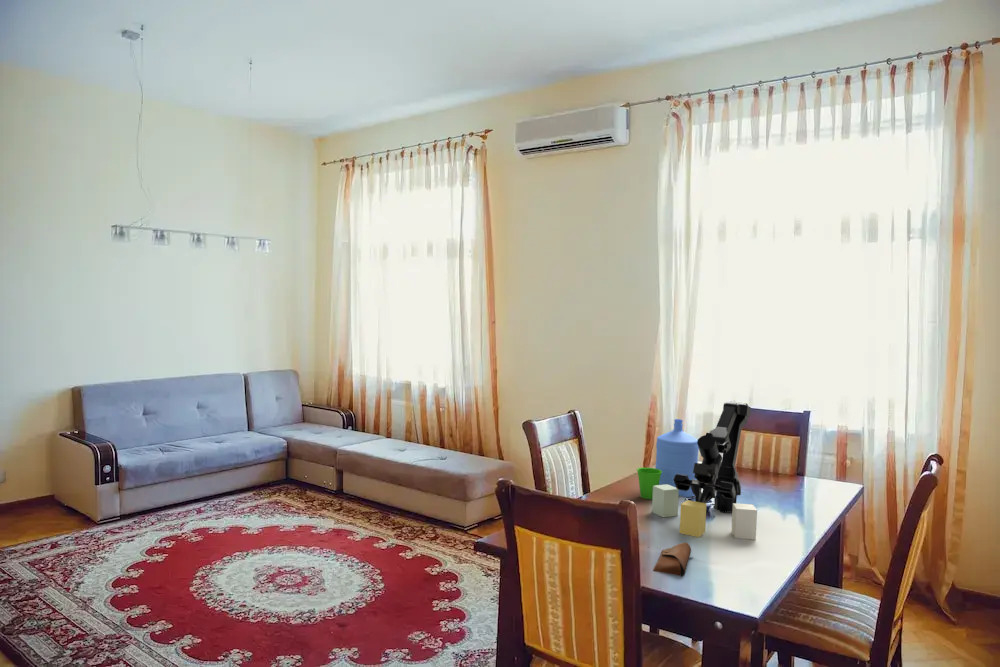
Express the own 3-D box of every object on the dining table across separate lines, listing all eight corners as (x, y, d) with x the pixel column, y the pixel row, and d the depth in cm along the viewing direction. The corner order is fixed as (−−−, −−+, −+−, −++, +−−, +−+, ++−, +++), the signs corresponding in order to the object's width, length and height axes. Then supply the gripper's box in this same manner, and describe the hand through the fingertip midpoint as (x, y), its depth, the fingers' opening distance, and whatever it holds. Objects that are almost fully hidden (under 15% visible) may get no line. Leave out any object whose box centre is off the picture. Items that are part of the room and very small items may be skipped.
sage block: (666, 510, 234) (667, 484, 234) (677, 515, 229) (678, 488, 228) (651, 512, 232) (653, 485, 231) (663, 517, 226) (664, 490, 226)
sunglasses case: (660, 549, 199) (673, 531, 198) (681, 564, 197) (694, 547, 196) (651, 571, 182) (666, 552, 181) (674, 588, 180) (689, 569, 179)
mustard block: (686, 528, 216) (687, 499, 215) (705, 532, 212) (706, 503, 212) (679, 533, 211) (680, 504, 210) (698, 537, 207) (700, 507, 207)
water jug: (689, 501, 251) (693, 425, 250) (648, 493, 259) (651, 420, 258) (701, 492, 264) (705, 419, 263) (662, 485, 273) (665, 415, 271)
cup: (661, 504, 245) (662, 474, 245) (635, 502, 247) (636, 472, 246) (660, 498, 254) (661, 468, 253) (635, 495, 256) (636, 466, 255)
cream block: (731, 531, 214) (732, 503, 213) (751, 533, 213) (752, 504, 212) (735, 538, 208) (736, 508, 207) (755, 539, 207) (757, 510, 207)
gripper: (676, 448, 223) (662, 489, 215) (735, 457, 213) (723, 500, 204) (683, 468, 230) (670, 508, 222) (740, 477, 220) (729, 520, 211)
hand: (697, 508), depth 214 cm, fingers closed
